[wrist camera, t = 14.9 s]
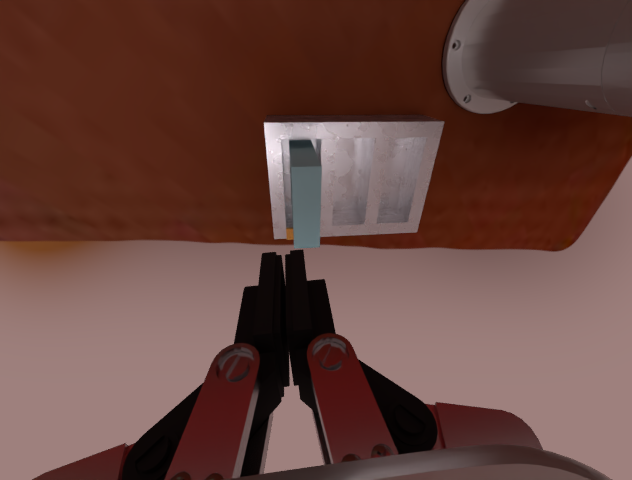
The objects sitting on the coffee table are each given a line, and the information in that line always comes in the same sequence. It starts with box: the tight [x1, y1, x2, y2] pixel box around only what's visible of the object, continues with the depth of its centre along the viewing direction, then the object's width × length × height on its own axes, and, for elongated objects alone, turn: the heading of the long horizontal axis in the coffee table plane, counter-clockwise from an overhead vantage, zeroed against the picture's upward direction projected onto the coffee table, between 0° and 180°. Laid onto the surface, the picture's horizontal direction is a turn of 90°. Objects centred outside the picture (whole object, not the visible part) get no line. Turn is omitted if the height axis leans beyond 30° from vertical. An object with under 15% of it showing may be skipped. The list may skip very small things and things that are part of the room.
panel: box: [289, 140, 322, 248], centre depth 28 cm, size 2×8×10 cm, turn 179°
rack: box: [264, 115, 444, 240], centre depth 31 cm, size 18×13×5 cm
